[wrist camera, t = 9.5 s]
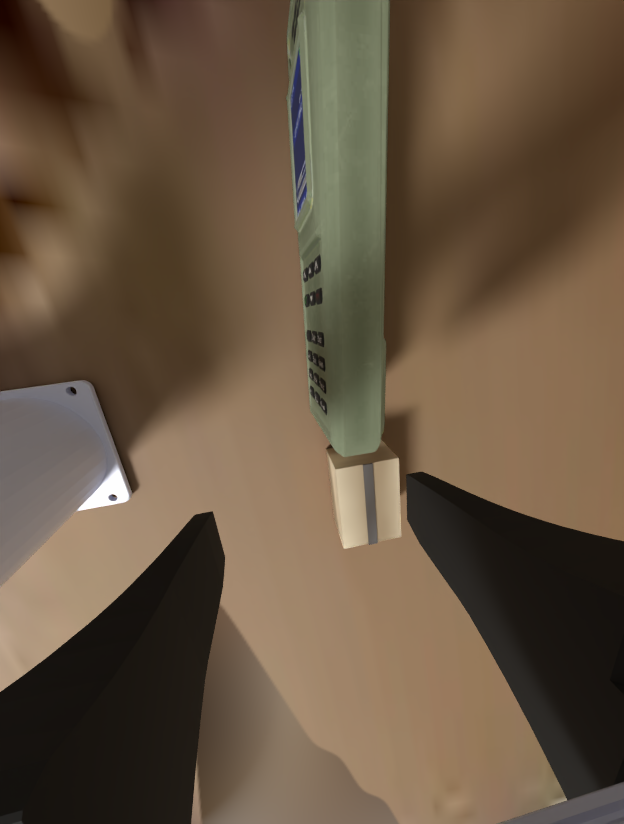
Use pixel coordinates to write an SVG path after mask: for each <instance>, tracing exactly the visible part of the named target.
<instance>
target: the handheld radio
mask: <svg viewBox="0 0 624 824" xmlns="http://www.w3.org/2000/svg"><path fill="white" fill-rule="evenodd" d="M389 33H390V0H291V1H290V10H289V19H288V27H287V53H288V72H289V87H288V94H287V97H286V100H287V108H288V123H289V139H290V154H291V170H292V186H293V201H294V217H295V227H294V228H295V229H296V230H297V231H298V241H299V255H300V265H301V280H302V295H303V310H304V325H305V341H306V356H307V371H308V386H309V401H310V411H311V413H312V414H313V416H314V418H315V419H316V421H317V422H318V424H319V426H320V427H321V429H322V431H323V432H324V434H325V435H326V437H327V439H328V440H329V442H330V443H331V445H332V447H333V448H334V450H335V451H336V452H337V453H338V454H340V455H342V456H343V457H349V456H355V455H361V454H366V453H372V452H375V451H376V450H377V449H378V447H379V445H380V442H381V437H382V434H383V432H384V423H385V379H386V340H385V339H384V289H385V238H386V187H387V135H388V84H389Z"/></svg>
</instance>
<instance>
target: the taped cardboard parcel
mask: <svg viewBox="0 0 624 824" xmlns="http://www.w3.org/2000/svg"><path fill="white" fill-rule="evenodd" d="M326 454H327V463H328V471H329V480H330V489H331V497H332V506H333V515H334V521H335V524H336V527H337V530H338V533H339V536H340V539H341V542H342V545H343V548H344V549H346V548H351V547H355V546H360V545H365V544H369V545H370V544H375V543H378V542H379V541H384V540H388V539H393V538H398V537H401V516H400V481H399V458H398V457H397V456H396V454H395V453H394V452H393V451H392V450H391V449H390V448H389V447H388V446H387V445H386V444H385V443H384V442H383V441H382V440H381V442H380V445H379V447H378V449H377V450H376V451H375V452H372V453H366V454H361V455H355V456H349V457H343V456H342V455H340V454H338V453H337V452H336V451H335V450H334V448H328V449H326Z"/></svg>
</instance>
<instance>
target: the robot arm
mask: <svg viewBox="0 0 624 824" xmlns="http://www.w3.org/2000/svg"><path fill="white" fill-rule="evenodd" d="M71 387H73V388H75V389H76V392H77V393H76V394H74V393H72V392H71V389H70V388H71ZM406 482H407V520H408V522H409V524H410V526H411V528H412V530H413V532H414V534H415V535H416V537H417V539H418V541H419V543H420V544H421V546H422V547H423V549H424V550H425V552H426V553H427V555H428V556H429V557H430V559H431V560H432V562H433V563H434V565H435V566H436V567H437V569H438V570H439V572H440V573H441V574H442V576H443V577H444V579H445V580H446V582H447V583H448V584H449V586H450V587H451V589H452V590H453V591H454V593H455V594H456V596H457V597H458V599H459V600H460V601H461V603H462V605H463V606H464V608H465V609H466V611H467V612H468V614H469V615H470V617H471V619H472V621H473V622H474V624H475V626H476V627H477V629H478V631H479V633H480V634H481V636H482V638H483V639H484V641H485V643H486V645H487V646H488V648H489V650H490V652H491V654H492V655H493V657H494V659H495V661H496V663H497V664H498V666H499V668H500V670H501V672H502V673H503V675H504V677H505V679H506V681H507V682H508V684H509V686H510V688H511V690H512V692H513V694H514V696H515V697H516V699H517V701H518V703H519V705H520V707H521V709H522V711H523V713H524V715H525V716H526V718H527V720H528V722H529V724H530V726H531V728H532V730H533V732H534V734H535V736H536V738H537V740H538V742H539V744H540V746H541V748H542V750H543V752H544V754H545V756H546V758H547V760H548V762H549V764H550V766H551V768H552V770H553V772H554V774H555V776H556V778H557V780H558V782H559V784H560V786H561V788H562V790H563V792H564V794H565V796H566V798H567V801H564V802H561V803H558V804H555V805H552V806H549V807H546V808H543V809H540V810H537V811H534V812H531V813H528V814H525V815H522V816H519V817H516V818H513V819H510V820H507V821H504V822H501V823H498V824H624V541H620V540H615V539H610V538H606V537H602V536H597V535H593V534H589V533H585V532H581V531H578V530H574V529H570V528H566V527H562V526H559V525H556V524H552V523H549V522H545V521H542V520H539V519H536V518H533V517H530V516H527V515H524V514H521V513H518V512H516V511H513V510H510V509H507V508H505V507H502V506H500V505H497V504H495V503H492V502H490V501H487V500H485V499H483V498H480V497H478V496H476V495H473V494H471V493H469V492H466V491H464V490H462V489H460V488H458V487H455V486H453V485H451V484H449V483H447V482H445V481H442V480H440V479H438V478H436V477H434V476H431V475H429V474H427V473H424V472H417V473H412V474H407V475H406ZM112 494H115V495H116V496H117V498H115V497H113V496H112ZM131 496H132V491H131V488H130V486H129V483H128V480H127V477H126V475H125V472H124V469H123V466H122V464H121V461H120V458H119V455H118V453H117V450H116V447H115V444H114V442H113V439H112V436H111V433H110V431H109V428H108V425H107V422H106V420H105V417H104V414H103V412H102V409H101V406H100V403H99V401H98V398H97V395H96V392H95V390H94V387H93V385H92V384H91V383H90V382H88V381H86V380H78V381H71V382H64V383H57V384H50V385H42V386H35V387H28V388H21V389H13V390H6V391H0V587H1V586H2V585H3V584H4V583H5V582H6V581H7V580H8V579H9V578H10V577H11V576H12V575H13V574H14V573H15V572H16V571H17V570H18V569H19V568H20V567H21V566H22V565H23V564H24V563H25V562H26V561H27V560H28V559H29V558H30V557H31V556H32V555H33V554H34V553H35V552H36V551H37V550H38V549H39V548H40V547H41V546H42V545H43V544H44V543H45V542H46V541H47V540H48V539H49V538H50V537H51V536H52V535H53V534H54V533H55V532H56V531H57V530H58V529H59V528H60V527H61V526H62V525H63V524H64V523H65V522H66V521H67V520H68V519H69V518H70V517H71V516H72V515H73V514H74V513H75V512H76V511H80V510H85V509H91V508H96V507H102V506H107V505H113V504H118V503H124V502H127V501H128V500H129V499H130V498H131ZM224 566H225V555H224V551H223V548H222V544H221V540H220V537H219V533H218V529H217V525H216V522H215V518H214V514H213V511H212V512H207V513H202V514H196V515H194V516H193V518H192V519H191V520H190V521H189V522H188V523H187V524H186V525H185V527H184V528H183V529H182V530H181V531H180V532H179V534H178V535H177V536H176V537H175V538H174V539H173V540H172V542H171V543H170V544H169V545H168V546H167V547H166V548H165V549H164V551H163V552H162V553H161V554H160V555H159V556H158V557H157V558H156V560H155V561H154V562H153V563H152V564H151V565H150V566H149V567H148V568H147V569H146V570H145V571H144V572H143V573H142V574H141V575H140V576H139V577H138V578H137V579H136V580H135V581H134V582H133V583H132V584H131V585H130V586H129V587H128V588H127V589H126V590H125V591H124V592H123V593H122V594H121V595H120V596H119V597H118V598H117V599H116V600H115V601H114V602H113V603H112V604H110V605H109V606H108V607H107V608H106V609H105V610H104V611H103V612H102V613H100V614H99V615H98V616H97V617H96V618H95V619H94V620H92V621H91V622H90V623H89V624H88V625H87V626H85V627H84V628H83V629H82V630H80V631H79V632H78V633H77V634H76V635H74V636H73V637H72V638H71V639H69V640H68V641H67V642H66V643H64V644H63V645H62V646H61V647H60V648H58V649H57V650H56V651H55V652H53V653H52V654H51V655H50V656H48V657H47V658H46V659H45V660H43V661H42V662H41V663H39V664H38V665H37V666H35V667H34V668H33V669H31V670H30V671H29V672H27V673H26V674H25V675H23V676H22V677H21V678H19V679H18V680H16V681H15V682H14V683H12V684H11V685H10V686H8V687H7V688H5V689H4V690H3V691H1V692H0V824H191V817H192V805H193V793H194V781H195V769H196V759H197V749H198V739H199V729H200V719H201V710H202V702H203V693H204V684H205V676H206V670H207V664H208V659H209V653H210V648H211V644H212V639H213V634H214V629H215V624H216V619H217V614H218V609H219V604H220V599H221V594H222V588H223V579H224Z"/></svg>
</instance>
